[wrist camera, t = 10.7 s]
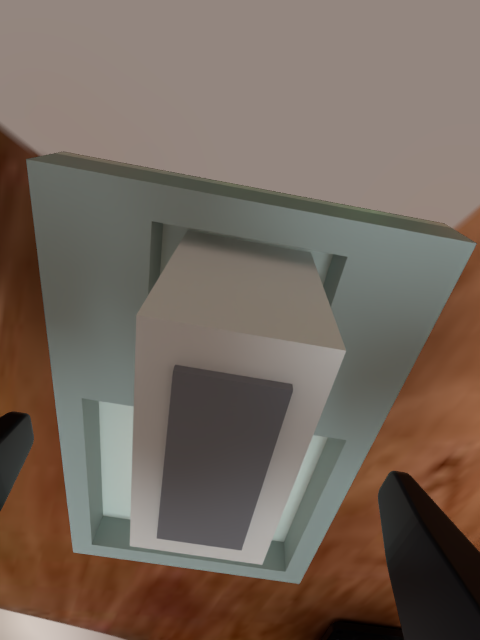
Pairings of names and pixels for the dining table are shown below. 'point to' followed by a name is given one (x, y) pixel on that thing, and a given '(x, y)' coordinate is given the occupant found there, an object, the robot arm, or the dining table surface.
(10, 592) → the dining table surface
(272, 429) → the socket block
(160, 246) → the keyhole tray
